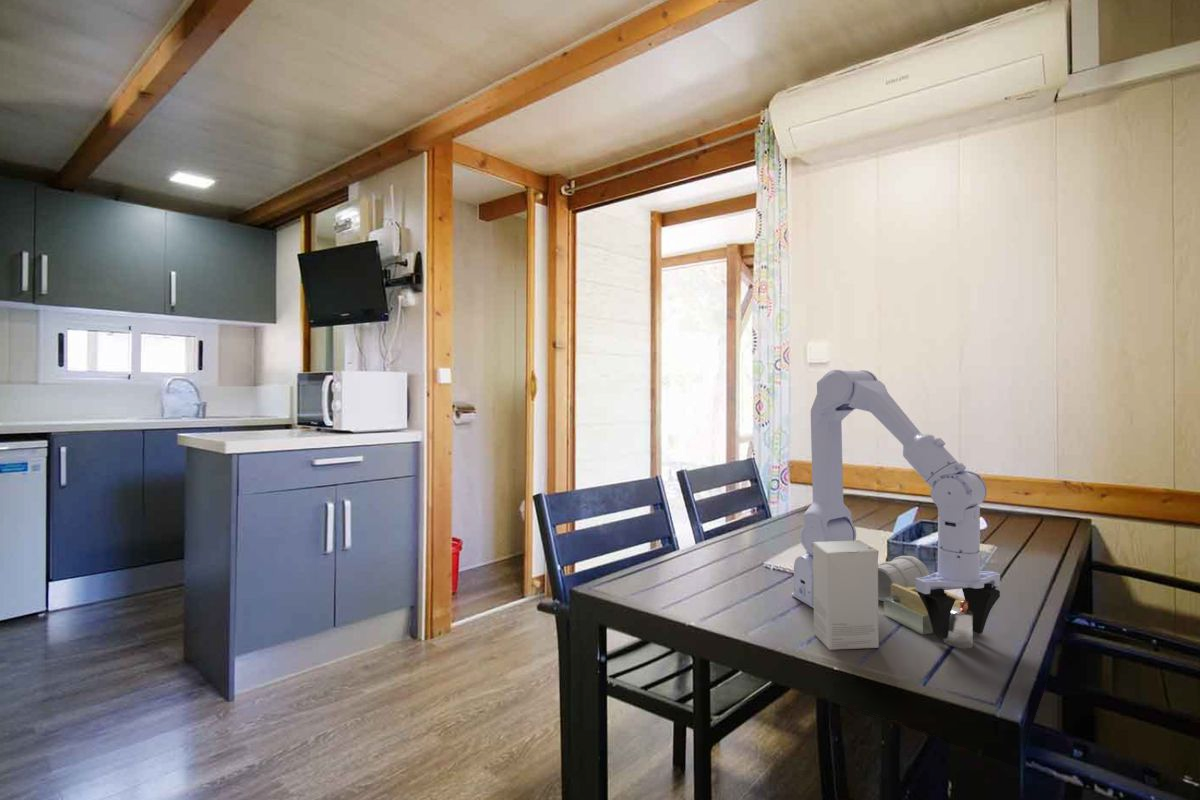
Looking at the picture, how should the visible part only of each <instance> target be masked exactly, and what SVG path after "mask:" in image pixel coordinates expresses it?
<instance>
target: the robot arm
mask: <svg viewBox="0 0 1200 800" xmlns="http://www.w3.org/2000/svg"><path fill="white" fill-rule="evenodd" d="M854 410H860V411H864V412H869V413H871V414H872V415H873V416H874V417H875V418H876V419H877V421H879V422H880V423H881V424H882V425H883V426H884V427H885V429H886V430H887V431H889V432H890V434H891V435H892V436H893V437H894V438H895V439H897V440H898V442H899V443H900V444H901V445H903V446H902V447H903V448H902V457H903V458H904V459H905V461H906V462H908V464H909V465H910V466H911V467H912V468H913V469H914V470H915V471H916V473H917V474H918V475H919V477H921V478H922V480H923V481H924V482H925V483H926V484H927V486H928V487H930V488H931V489H930V492H929V494H930V497H931V500H932V502H933V503H934V504H935V505H936V507H937V571H936V572H934V573H931V574H930V573H929V574H930V575H928V576H925V577H921V578H916V591H917V593H918V595H919V596H920V598H921V599H922V601H923V603H924V605H925V607H926V610H927V612H928V615H929V618H930V621H931V625H932V629H933V633H932V634H933V635H934V636H937V637H939V638H941V639H946V638H947V637H948V633H949V619H950V613H951V610H952V607H953V604H954V602H955V599H954V598H951V597H949V596H947V593H944V591H951V590H959V589H961V590H962V593H963V595H964V599H965V601H968V602H969V611H971V612H972V613H973V632H974V633H976V634H979V635H981V634H983V632H984V630H985V626H986V623H987V620H988V616H989V615H990V612H991V610H992V608H993V606H994V605H995V604H996V602H997V601H998V600H999V598H1000V597H1001V591H1000V590H998V589H997V588H993V587H1001V574H1000V573H998V572H995V571H991V570H980V567H981V566H980V565H981V564H980V563H981V556H980V555H981V506H980V505H981V504H982V503H984V501H985V500H986V498H987V494H988V490H987V486H986V483H985V481H984V480H983V479H982V477H981V475H980V474H979V473H977V472H976V471H975V472H974V471H971V470H967V466H966V465H965V464H964V463H962V462H959V461H958V460H957V459H956V458H955V457H954V456H953V455H952V454H951V453H950V452H949V451H948V449H946V448H945V445H946V442H945V441H944V440H943V439H942V438H941V437H938V438H937V437H935V436H934V435H933V434H929V433H928V434H924V433H922V432H921V431H920V430H919V428H917V427H916V425H915V424H914V423H913V422H912V420H911V419H910V417H908V416H907V414H906V412H904V411H903V409H902V408H901V407H900V406H899V405H898V403H897V402H896V401H895V399H894V398H893V397H892V396H891V394H890V393H889V392H888V390H887V388H886V385H885V383H883V382H882V381H881V380H878V378H877V376H876V375H875V374H874V373H873V372H871V371H869V370H862V369H861V370H842V369H832V370H830V371H828V372H827V373H825V374H824V375H823V376H822V377H821V378H820V379H818V381H817V382H816V395H815V398H814V401H813V403H812V406H811V409H810V441H811V446H810V447H811V479H812V480H811V483H812V485H811V486H812V488H811V489H812V503H811V504H810V506H809V507H808V508H807V510H806V511H805V512H804V513H803V523H802V526H801V528H800V531H799V539H800V543H801V545H802V546H803V549H805V552H806V553H805V554H804V555H800V556H797V557H796V558H795V560H794V564H793V592H791V596H793V598H795V599H798V600H799V601H801V602H803V604H805V605H808V606H809V607H811V608H813V609H814V574H813V542H830V541H853V540H856V539H857V530H856V527H855V524H854V522H853V520H852V511H851V510H850V509H849V507H847V505H846V504H845V503H844V475H843V474H844V471H843V470H844V469H843V468H844V467H843V438H842V437H843V436H842V421H843V420H844V419H846V417H848V415H849V414H851V413H852V412H853V411H854Z"/></svg>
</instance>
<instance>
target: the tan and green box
mask: <svg viewBox="0 0 1200 800" xmlns="http://www.w3.org/2000/svg"><path fill="white" fill-rule="evenodd" d="M944 593H947V596H949V597H951V598H954V599H955V602H954V604H953V607H958V608H960V600H965V598H963V597H960V596H958V595H955V594H953V593H950V592H948V591H947V590H944ZM883 615H884V616H886V617H887V618H888V619H889V618H890V619H892V620H894V621H896V622H897V623H900V624H901V625H903V626H905V627H907V628H909V629H911V630H913V631H915V632H917V633H919V634H921V635H931V634H934V633H933V629H932V625H931V621H930V618H929V615H928V612H927V610H926V607H925V605H924V603H923V601H922V599H921V598H920V596H919V595H918V593H917V591H916V587H908V588H905V587H903V586H900V585H898V584H896V583H894V584H891V597H887V598H884V601H883Z"/></svg>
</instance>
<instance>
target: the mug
mask: <svg viewBox="0 0 1200 800" xmlns="http://www.w3.org/2000/svg"><path fill="white" fill-rule="evenodd" d="M928 575H930V571H929V570H928V567H927V566H926V564H925V563H924V562H922V561H921V560H920V559H918V558H917V557H915V556H912V555H900V556H897V557H895V558H893V559H891V561H883V562H881V563H878V601H881V602H884V598H887V597H891V584H894V583H896V584H898V585H900V586H903V587H905V588H908V587H916V578H921V577H925V576H928Z"/></svg>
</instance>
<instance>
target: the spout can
mask: <svg viewBox="0 0 1200 800" xmlns="http://www.w3.org/2000/svg"><path fill="white" fill-rule="evenodd" d="M973 632H974V631H973V613H972V612H971V611H969V602H968V601H965V600H960V608H958V607H952V610H951V613H950V619H949V633H948V637H947V638H946V639H943V638H942V639H943V640H942V641H943V642H944V643H945V644H947V645H948V646H950V647H954V648H958V649H970V648H972V647H973V646H974V645H973V643H974V640H973V639H974V638H973V636H974V633H973Z"/></svg>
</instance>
